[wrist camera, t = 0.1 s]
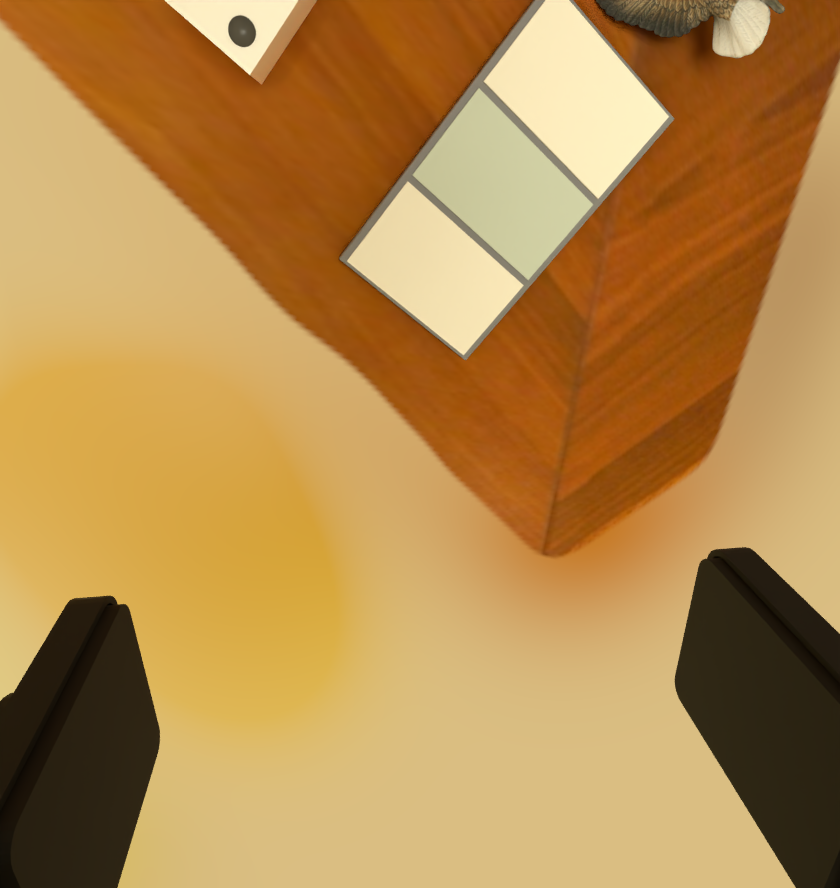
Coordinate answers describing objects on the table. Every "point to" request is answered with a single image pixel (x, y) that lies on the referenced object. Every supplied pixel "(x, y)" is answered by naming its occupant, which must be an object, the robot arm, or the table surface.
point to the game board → (508, 176)
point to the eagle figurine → (701, 19)
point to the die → (247, 28)
